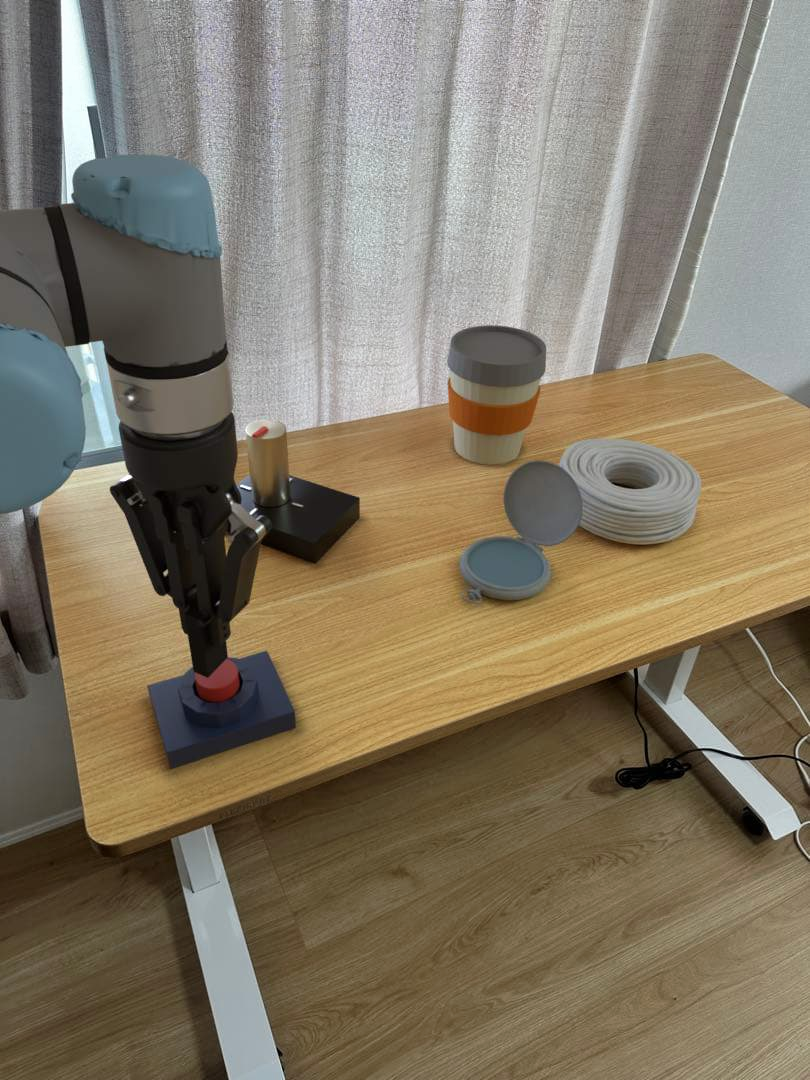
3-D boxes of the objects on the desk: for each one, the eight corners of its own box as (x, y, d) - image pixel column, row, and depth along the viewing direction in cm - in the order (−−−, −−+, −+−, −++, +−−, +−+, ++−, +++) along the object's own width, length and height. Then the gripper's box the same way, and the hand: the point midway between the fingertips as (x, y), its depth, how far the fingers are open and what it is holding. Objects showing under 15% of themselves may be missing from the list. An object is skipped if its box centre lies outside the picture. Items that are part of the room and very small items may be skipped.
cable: (521, 496, 101) (527, 454, 97) (615, 455, 110) (624, 416, 106) (628, 569, 90) (640, 526, 86) (723, 518, 99) (737, 477, 95)
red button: (202, 708, 68) (200, 694, 67) (192, 678, 70) (190, 664, 69) (244, 695, 69) (242, 681, 68) (233, 667, 71) (231, 653, 70)
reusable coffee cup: (432, 463, 106) (439, 358, 97) (450, 419, 116) (458, 319, 107) (527, 478, 104) (543, 372, 95) (537, 432, 114) (553, 331, 105)
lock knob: (266, 482, 96) (260, 412, 90) (297, 492, 94) (293, 422, 89) (244, 500, 93) (237, 429, 87) (276, 511, 91) (271, 440, 86)
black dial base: (212, 527, 94) (209, 504, 92) (262, 485, 101) (260, 464, 99) (315, 564, 89) (314, 541, 87) (359, 518, 96) (359, 496, 94)
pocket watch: (596, 479, 85) (519, 544, 75) (578, 559, 91) (506, 629, 82) (516, 445, 89) (434, 503, 80) (505, 524, 96) (428, 586, 87)
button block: (170, 769, 67) (163, 738, 64) (150, 701, 73) (143, 671, 70) (296, 727, 71) (294, 697, 68) (268, 666, 77) (265, 636, 74)
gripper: (59, 412, 53) (119, 664, 67) (221, 467, 49) (248, 724, 63) (138, 370, 58) (178, 612, 73) (290, 416, 54) (300, 663, 68)
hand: (210, 664), depth 68 cm, fingers closed
